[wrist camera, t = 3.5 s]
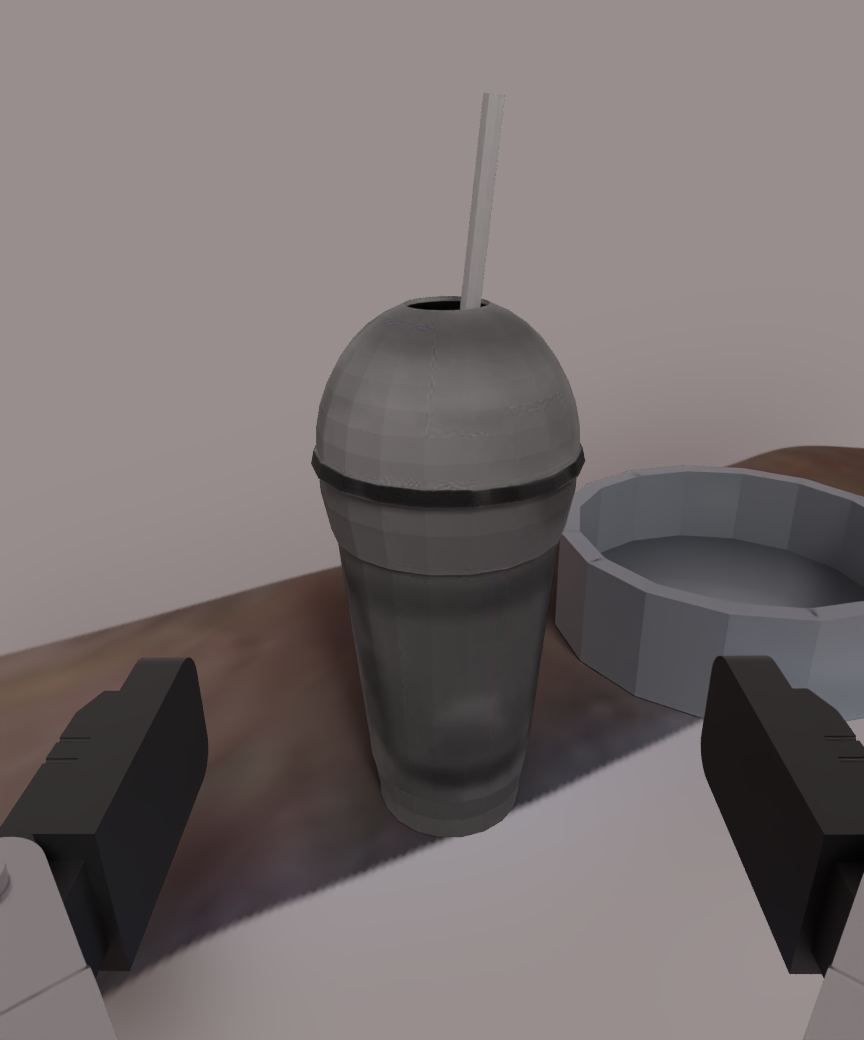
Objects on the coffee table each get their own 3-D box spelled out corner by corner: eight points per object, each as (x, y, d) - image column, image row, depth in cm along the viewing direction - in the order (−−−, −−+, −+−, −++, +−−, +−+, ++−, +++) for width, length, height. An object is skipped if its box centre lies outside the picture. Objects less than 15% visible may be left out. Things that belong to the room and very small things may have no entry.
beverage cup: (407, 693, 31) (387, 109, 22) (591, 750, 27) (647, 96, 19) (292, 821, 25) (209, 94, 17) (509, 912, 22) (540, 71, 13)
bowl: (923, 591, 37) (947, 503, 35) (894, 781, 26) (928, 666, 24) (622, 525, 44) (629, 448, 42) (498, 650, 33) (500, 554, 31)
